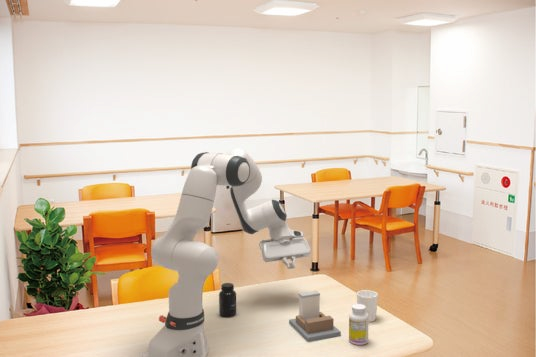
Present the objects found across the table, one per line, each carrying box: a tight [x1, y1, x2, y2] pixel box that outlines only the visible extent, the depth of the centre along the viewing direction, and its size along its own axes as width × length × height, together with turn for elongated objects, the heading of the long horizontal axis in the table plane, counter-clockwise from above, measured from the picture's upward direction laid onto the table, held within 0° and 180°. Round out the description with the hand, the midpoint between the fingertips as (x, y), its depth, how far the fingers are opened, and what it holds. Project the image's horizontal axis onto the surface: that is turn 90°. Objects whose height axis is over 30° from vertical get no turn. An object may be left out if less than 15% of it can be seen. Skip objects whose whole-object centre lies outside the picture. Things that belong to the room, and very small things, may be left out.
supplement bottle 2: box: [348, 303, 369, 346], centre depth 186 cm, size 7×7×13 cm
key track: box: [288, 311, 342, 343], centre depth 196 cm, size 16×13×6 cm
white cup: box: [356, 289, 379, 323], centre depth 205 cm, size 8×8×10 cm
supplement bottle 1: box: [218, 282, 237, 318], centre depth 211 cm, size 7×7×12 cm
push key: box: [298, 290, 321, 321], centre depth 200 cm, size 3×7×11 cm, turn 111°
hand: (291, 267), depth 213 cm, fingers closed
